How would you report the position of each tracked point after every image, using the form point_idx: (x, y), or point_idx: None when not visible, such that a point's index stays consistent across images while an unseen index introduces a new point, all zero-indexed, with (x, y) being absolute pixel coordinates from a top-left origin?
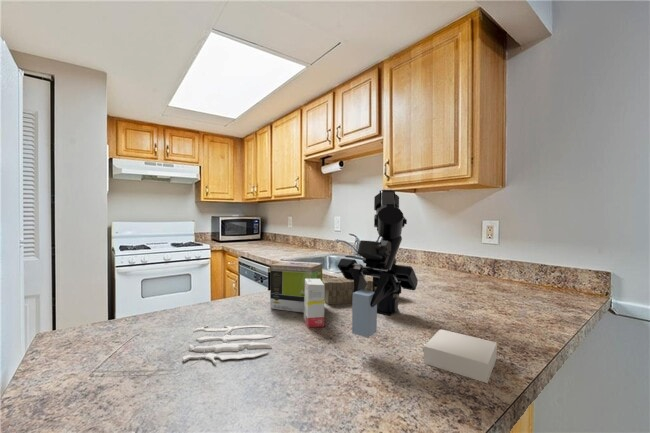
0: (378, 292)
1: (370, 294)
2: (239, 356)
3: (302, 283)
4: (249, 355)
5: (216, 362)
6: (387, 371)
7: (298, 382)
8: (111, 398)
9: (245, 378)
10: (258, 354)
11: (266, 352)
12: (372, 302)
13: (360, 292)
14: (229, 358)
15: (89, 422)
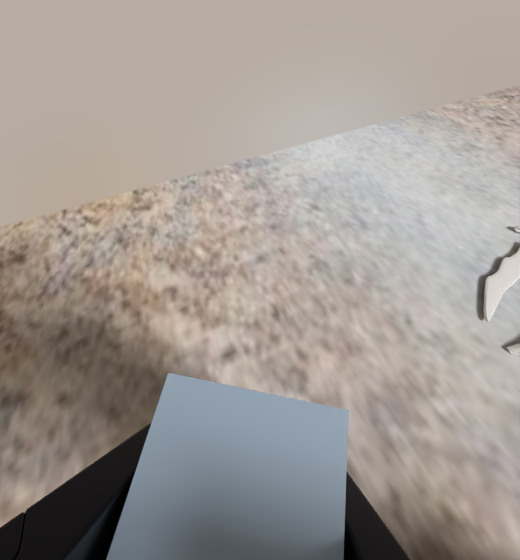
0: (50, 499)
1: (158, 447)
2: (511, 265)
3: None
4: (500, 279)
5: (516, 227)
6: (128, 380)
7: (323, 242)
8: (512, 129)
9: (420, 217)
10: (489, 292)
11: (485, 310)
12: (147, 427)
13: (287, 479)
14: (517, 251)
15: (473, 103)
